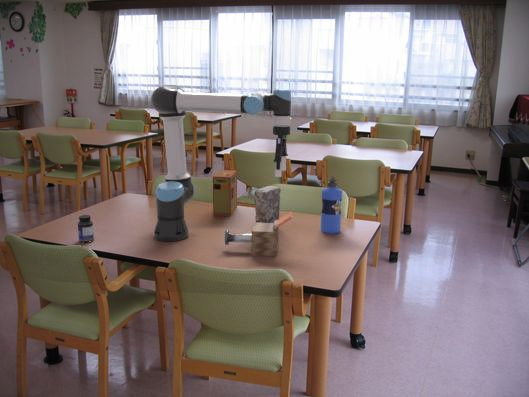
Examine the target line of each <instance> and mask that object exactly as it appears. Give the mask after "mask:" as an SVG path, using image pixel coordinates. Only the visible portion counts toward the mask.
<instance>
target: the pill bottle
mask: <svg viewBox="0 0 529 397" xmlns="http://www.w3.org/2000/svg"><path fill="white" fill-rule="evenodd" d="M78 219H79V221H78V222H77V231H78V232H77V233H78V234H77V235H78V242H79V241H80V242H79V243H82V242H88V243H90V242H89V241H92V242H94V239H95V238H94V237H95V236H94V234H95V233H94V222H93V221H92V220H91V215H89V214H82V215H79V216H78Z"/></svg>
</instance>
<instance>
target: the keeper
mask: <svg viewBox="0 0 529 397" xmlns="http://www.w3.org/2000/svg"><path fill="white" fill-rule="evenodd" d="M293 215H294V213H293V211H292V210H291V211H290V212H288V213H286V214H284V215H283V216H282V217H279V220H275V221H274V225H273V230H276V229H277V228H278V227H279V228H280V227H281V226H283V225H284V224H286V223H288V222H289V221H291V220H292V219H293Z"/></svg>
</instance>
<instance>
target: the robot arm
mask: <svg viewBox="0 0 529 397" xmlns="http://www.w3.org/2000/svg"><path fill="white" fill-rule="evenodd" d="M150 102H151V106H152V107H153V109H154V110H155V111H156V112H157V113H158V115H159V116H158V117H159V118H160V119H161V120H162V121H163V131H164V132H163V133H164V135H163V136H164V143H165V144H164V146H165V153H166V155H165V156H166V166H167V174H166V175H165V177H164V182H160V183H159V184H158V185H157V186H156V191H155V197H156V201H155V202H156V215H157V217H156V218H157V219H156V223H155V228H154V229H153V237H154V239H155V238H156V240H157V241H161V242H162V241H163V242H176V241H182V240H185V239H187V238H188V237H189V236H190V234H189V227H188V225H187V223H186V220H185V205H186V204H188V203H189V202H190V201H191V200H192V199H193V197H194V195H195V194H194V193H195V185H194V183H193V182H192V181H191V180H192V179H191V178H192V177H191V174H190V173H189V172H188V169H187V156H186V146H185V145H186V144H185V131H184V130H185V129H184V118H185V117H186V116H187V115H186V114H187V113H186V112H201V113H202V112H205V113H206V112H207V113H208V112H209V113H227V114H228V113H229V114H231V113H233V114H249V115H251V116H252V115H253V116H254V115H258V114H259V113H261V112H272V113H273V115H272V125H273V126H272V135H273V136H277V138H276V140H275V154H274V159H273V163H274V165H275V166H274V177H276V178H277V177H278V178H282V175H283V174H282V172H286V171H287V170H286V169H287V157H288V156H289V154H288V151H287V136H289V135H291V126H290V125H291V121H292V118H291V113H292V92H291V90H290V89H289V88H287V89H286V88H275V89H273V93H260V92H259V93H256V92H250V93H249V92H248V93H246V94H235V93H234V94H233V93H210V92H209V93H208V92H207V93H205V92H186V91H185V89H183V88H181V87H180V86H179V85H175V84H168V85H162V86H159V87H157V88H156V89H155V90H153V91H152V94H151V96H150Z"/></svg>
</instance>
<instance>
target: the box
mask: <svg viewBox="0 0 529 397" xmlns="http://www.w3.org/2000/svg"><path fill="white" fill-rule="evenodd" d="M237 208H238V171H237V170H233V169H231V170H230V169H229V170H227V169H224V170H223V169H220V170H218V171H217V172H216V173H215V174H214V175H212V214H213V216H216V217H217V216H218V217H220V216H221V217H231V216H233V214H234V213H235V211H236V210H237Z"/></svg>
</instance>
